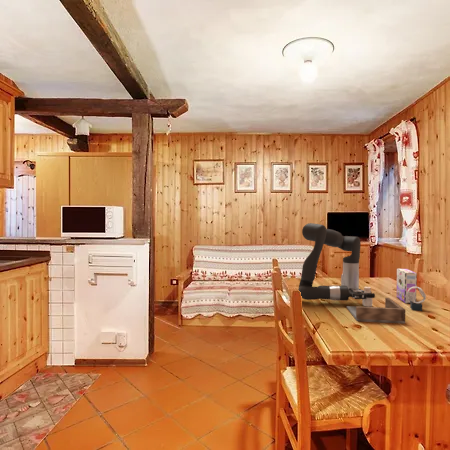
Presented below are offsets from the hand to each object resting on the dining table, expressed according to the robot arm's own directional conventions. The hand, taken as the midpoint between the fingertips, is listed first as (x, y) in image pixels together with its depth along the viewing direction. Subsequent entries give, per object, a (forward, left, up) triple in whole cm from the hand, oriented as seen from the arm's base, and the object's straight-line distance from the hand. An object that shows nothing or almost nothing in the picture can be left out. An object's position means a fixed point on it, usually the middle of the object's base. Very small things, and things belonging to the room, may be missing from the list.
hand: (372, 294), depth 162 cm
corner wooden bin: (+7, -15, -6) cm, 17 cm away
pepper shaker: (-2, -2, -6) cm, 7 cm away
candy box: (+8, +24, -6) cm, 26 cm away
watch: (+17, +10, -6) cm, 21 cm away
